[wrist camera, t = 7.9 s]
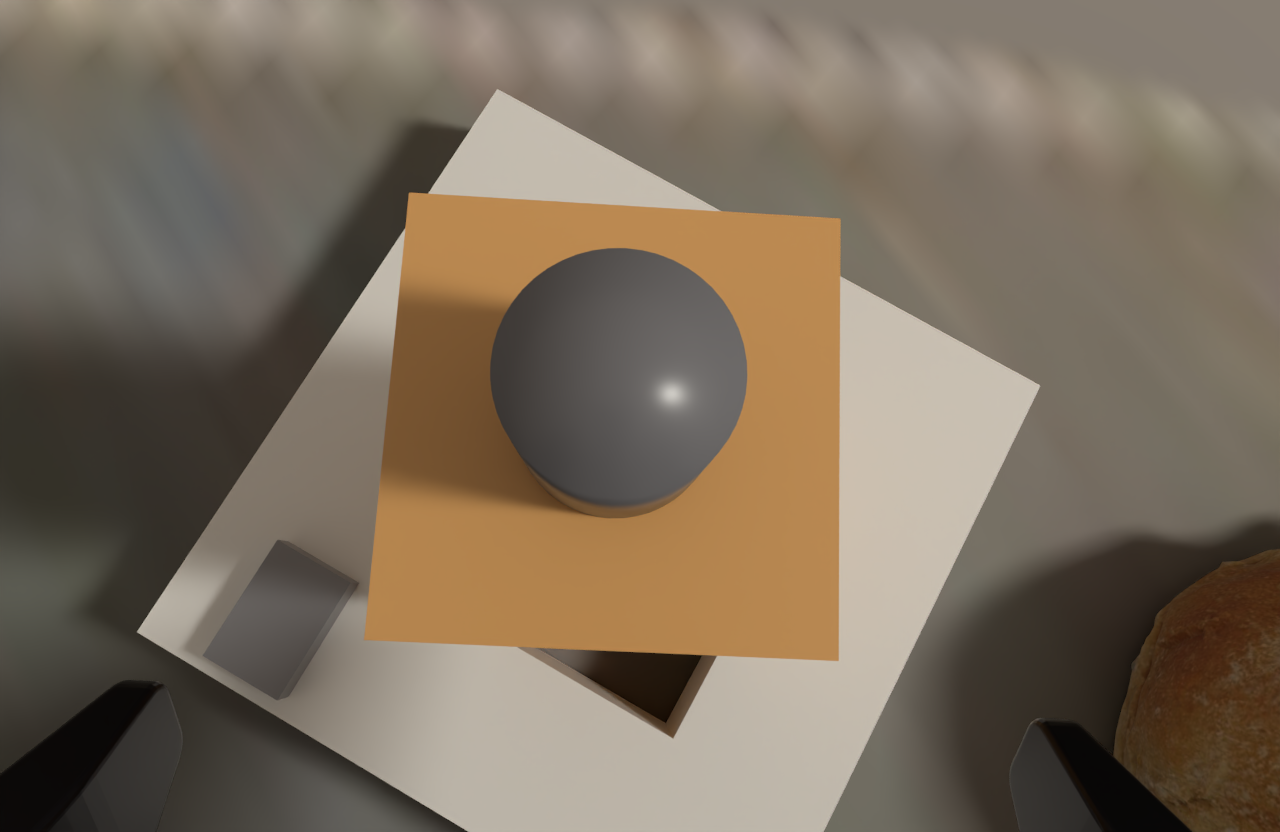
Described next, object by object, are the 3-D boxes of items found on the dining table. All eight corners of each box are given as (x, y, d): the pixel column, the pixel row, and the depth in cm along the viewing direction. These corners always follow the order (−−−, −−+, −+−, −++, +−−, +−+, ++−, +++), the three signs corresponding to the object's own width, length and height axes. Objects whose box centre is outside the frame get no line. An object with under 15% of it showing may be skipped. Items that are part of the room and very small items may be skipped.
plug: (706, 620, 19) (909, 682, 7) (496, 611, 19) (293, 655, 7) (713, 415, 20) (903, 121, 8) (512, 404, 20) (357, 87, 7)
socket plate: (727, 953, 18) (748, 1013, 16) (184, 627, 19) (119, 633, 16) (998, 405, 21) (1055, 378, 18) (506, 135, 21) (494, 73, 19)
